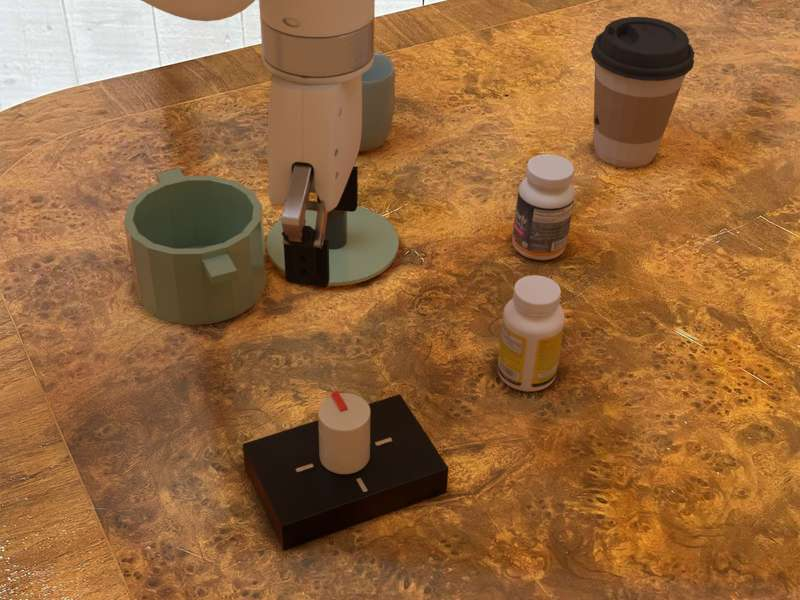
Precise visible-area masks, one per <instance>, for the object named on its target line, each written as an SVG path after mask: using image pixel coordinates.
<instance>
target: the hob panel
mask: <svg viewBox="0 0 800 600" xmlns="http://www.w3.org/2000/svg"><path fill="white" fill-rule="evenodd" d="M368 405H369V407H370V411H371V412H370V458H369V461H368V463H367V464H366V466H365V467H364V468H362V469H361V470H359V471H357V472H355V473H352V474H337V473H334V472H331V471H329V470H328V469H326V468H325V467H324V466H323V464H322V463H321V461H320V456H319V425H318V419H317V420H313V421H311V422H307V423H304V424H301V425H298V426H295V427H292V428H288V429H285V430H281V431H278V432H275V433H272V434H269V435H265V436H264V437H263V436H262V437H259V438H257V439H253V440H250V441H247V442H244V443H242V444H241V445H242V455H243V463H244V466H243V467H244V470H245V472H246V475H247V477H248V479H249V480H250V483H251V485H252V487H253V489H254V491H255V493H256V495H257V498H258V500H259V502H260V504H261V506H262V509H263V511H264V513H265V515H266V517H267V519H268V521H269V523H270V525H271V528H272V530H273V533H274V535H275V537H276V539H277V540H278V543H279V544H280V547H281V549H282V551H288V550H290V549H292V548H295V547H298V546H300V545H304V544H306V543H309V542H312V541H314V540H317V539H320V538H323V537H326V536H329V535H332V534H334V533H337V532H340V531H343V530H345V529H348V528H351V527H353V526H357V525H359V524H363V523H365V522H368V521H371V520H373V519H376V518H379V517H382V516H385V515H387V514H390V513H393V512H397V511H398V510H402V509H404V508H408V507H410V506H413V505H415V504H418V503H421V502H424V501H426V500H429V499H432V498H435V497H438V496H440V495H443V494H446V493H447V490H448V480H449V467H448V464H447V463H446V462H445V460H444V459H443V457H442V456H441V454H440V452H439V451H438V450H437V447H435V445H434V443H433V442H432V441H431V439H430V437H429V436H428V434H427V433H426V431H425V430H424V429H423V427H422V425H421V424H420V422H419V421H418V419H417V417H416V416H415V415H414V413H413V412H412V410H411V408H410V407H409V406H408V404H407V403H406V401H405V399H404V397H402V395H401V394H400V393H399V394H395V395H393V396H390V397H385V398H383V399H380V400H376V401H373V402H370V403H368Z"/></svg>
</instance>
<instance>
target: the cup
mask: <svg viewBox="0 0 800 600" xmlns="http://www.w3.org/2000/svg"><path fill="white" fill-rule="evenodd" d="M361 78H362V131H361V142H360V148H359V152H368V151H369V152H370V151H372V150H376V149H377V148H380V147H381V146H382V145H383V144H385V142H386V141H387V140H388V138H389V136H390V133H391V129H392V125H393V120H394V113H395V98H396V69H395V63H394V62H393V60H392V59H391V58H390V57H388V56H387V55H385V54H383V53H381V52H377V51H374V62H373V65H372V67H371V68H370V69H369V70H368V71H367V72H365V73H364V74H363V75H361Z"/></svg>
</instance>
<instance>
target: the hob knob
mask: <svg viewBox="0 0 800 600" xmlns="http://www.w3.org/2000/svg"><path fill="white" fill-rule="evenodd" d="M368 404H369V403H368V402H367V401H366V399H364V398H363V397H361V396H359V395H357V394H354V393H350V392H349V393H348V392H340V393H339V391H338V390H337V391H334V392H331V393H330V396H328V397H326V398H325V399H324V400H323V401H322V402H321V403H320V405H319V406H318V410H317V420H318V425H319V456H320V461H321V463H322V464H323V466H324V467H325V468H326V469H328V470H329V471H331V472H334V473H337V474H352V473H355V472H357V471H359V470H361V469H362V468H364V467H365V466H366V464H367V463H368V461H369V458H370V412H371V411H370V407H369V405H368Z"/></svg>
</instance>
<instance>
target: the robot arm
mask: <svg viewBox="0 0 800 600" xmlns="http://www.w3.org/2000/svg"><path fill="white" fill-rule="evenodd" d="M140 1H142V2H144V3H146V4H147V5H149V6H151V7H153V8H155V9H157V10H159V11H162V12H164V13H166V14H168V15H172V16H174V17H177V18H181V19H186V20H190V21H199V22H214V21H215V22H216V21H221V20H224V19H228V18H231V17H233V16H235V15H238V14H240V13H241V12H243V11H245V10H246V9H247V8H249V7H250V6H251V5H252V4H253V3H254V2H255V1H256V0H140ZM375 3H376V1H375V0H258V6H259V7H258V8H259V21H260V38H261V39H260V40H261V53H262V64H263V65H264V67H265V68H266V70H267V71H268V72H270V74H271V78H270V85H269V94H268V95H269V97H268V111H267V113H268V114H267V115H268V116H267V186H268V188H267V189H268V200H269V202H270V203H271V205H272V206H274V207H283V210H282V214H281V218H282V221H281V222H282V227H283V230H284V231H283V232H282V236H283V244H284V260H285V274H284V275H285V276H284V277H285V281H286V282H287V283H289V284H294V285H295V284H296V285H303V286H311V287H316V288H317V287H318V288H327V287H329V286H328V283H329V280H330V276H329V240H325V239H324V236H325V229H326V221H327V214H328V212H330V211H331V210H341V211H349V212H353V211H355V210H356V208H357V206H359V205H358V204H359V200H358V199H359V197H358V193H359V191H358V190H359V189H358V187H359V184H358V183H359V182H358V181H359V177H358V175H359V174H358V171H359V169H358V168H359V167H358V166H355V165H356V164H357V160H358V155H359V152H360V151H359V148H360V142H361V131H362V78H361V75H363V74H364V73H365V72H367V71H368V70H369V69H370V68H371V67H372V65H373V62H374V52H375V20H376V19H375V15H376V13H375V11H376V9H375V8H376V4H375ZM312 193H313V194H316V201H313V200H309V199H310V195H311V194H312ZM306 210H309V211H316V212H317V217H316V225H315V230H314V229H313V228H312V227H310V226H305V224H306V220H305V212H306Z"/></svg>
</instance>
